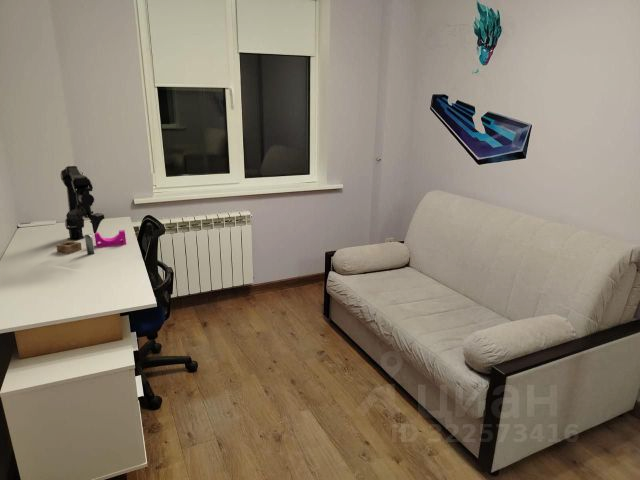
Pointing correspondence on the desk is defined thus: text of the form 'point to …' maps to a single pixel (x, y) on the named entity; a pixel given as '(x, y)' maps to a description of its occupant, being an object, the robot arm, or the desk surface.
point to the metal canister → (89, 244)
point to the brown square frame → (69, 247)
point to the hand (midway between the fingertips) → (87, 232)
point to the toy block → (110, 239)
